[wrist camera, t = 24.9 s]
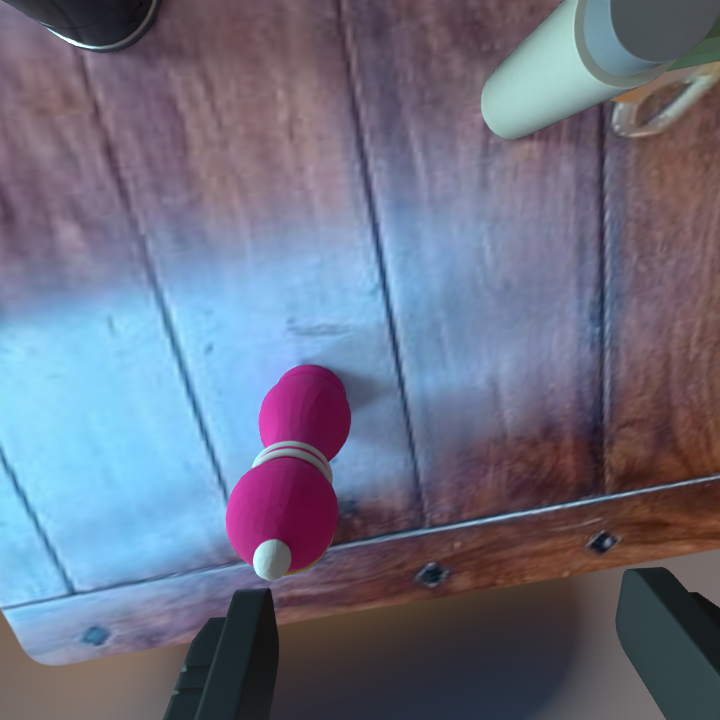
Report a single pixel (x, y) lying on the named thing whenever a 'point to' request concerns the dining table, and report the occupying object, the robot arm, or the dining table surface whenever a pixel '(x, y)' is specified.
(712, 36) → the green square tray
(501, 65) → the cylinder
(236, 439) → the dining table surface
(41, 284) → the dining table surface
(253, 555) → the pepper mill
